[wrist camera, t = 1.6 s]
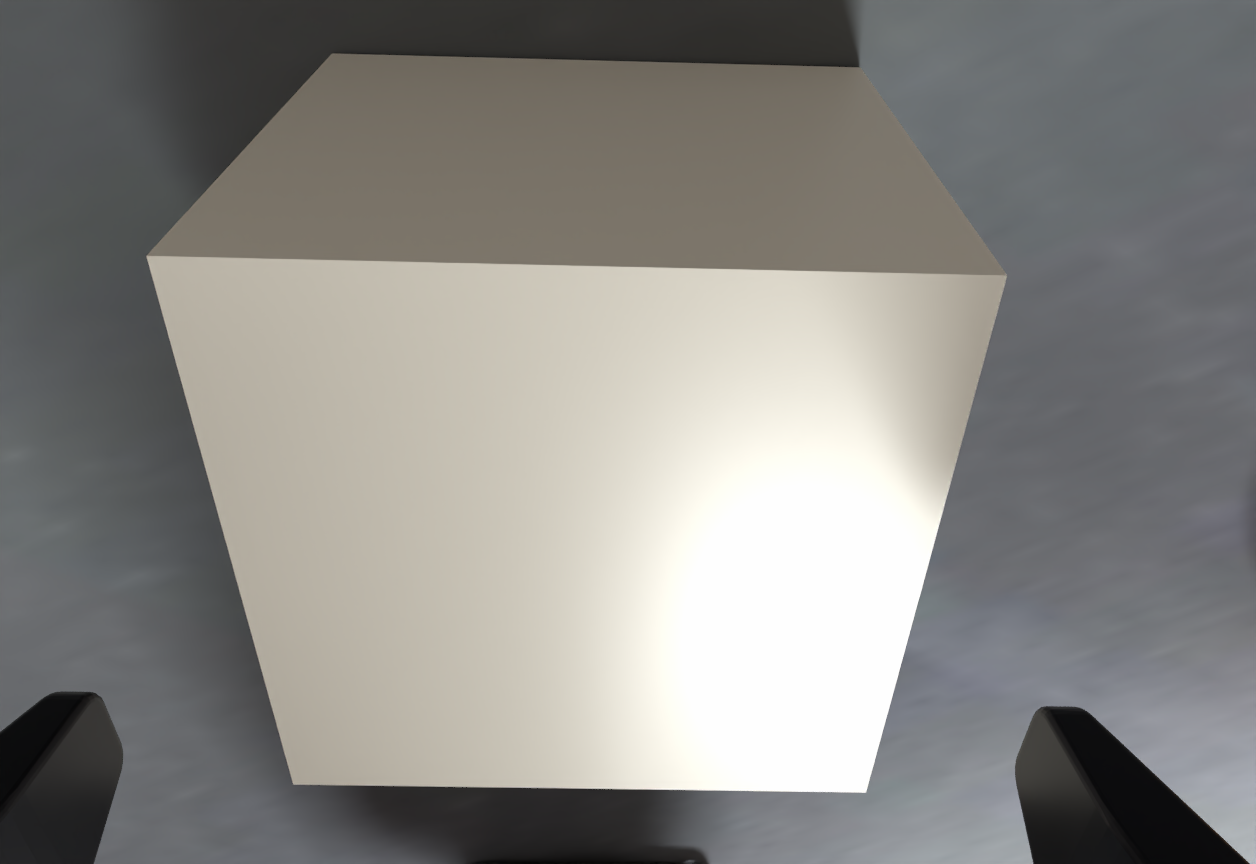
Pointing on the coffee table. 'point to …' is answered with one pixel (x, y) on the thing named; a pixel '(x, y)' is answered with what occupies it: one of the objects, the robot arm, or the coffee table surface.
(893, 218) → the cream cuboid
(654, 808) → the coffee table surface
